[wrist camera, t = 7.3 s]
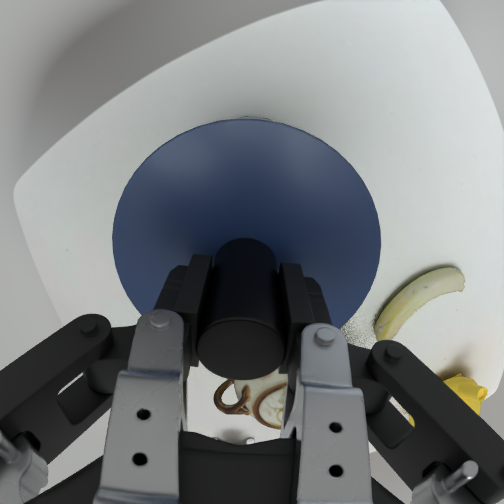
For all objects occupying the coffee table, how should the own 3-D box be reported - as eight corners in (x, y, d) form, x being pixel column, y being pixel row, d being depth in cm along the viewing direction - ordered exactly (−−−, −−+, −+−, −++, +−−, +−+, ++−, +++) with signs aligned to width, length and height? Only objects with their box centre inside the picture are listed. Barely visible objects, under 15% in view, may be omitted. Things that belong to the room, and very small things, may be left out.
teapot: (427, 355, 42) (458, 419, 30) (489, 342, 42) (522, 393, 29) (393, 419, 51) (409, 472, 39) (450, 404, 51) (470, 451, 39)
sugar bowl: (371, 303, 37) (413, 393, 23) (348, 377, 44) (368, 458, 30) (216, 303, 37) (200, 405, 23) (222, 380, 44) (214, 466, 30)
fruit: (359, 305, 37) (366, 321, 34) (454, 247, 33) (467, 260, 30) (376, 337, 40) (382, 353, 37) (462, 285, 36) (473, 298, 33)
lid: (134, 333, 16) (99, 420, 11) (119, 113, 11) (23, 131, 5) (337, 351, 17) (360, 441, 11) (397, 143, 11) (490, 181, 6)
